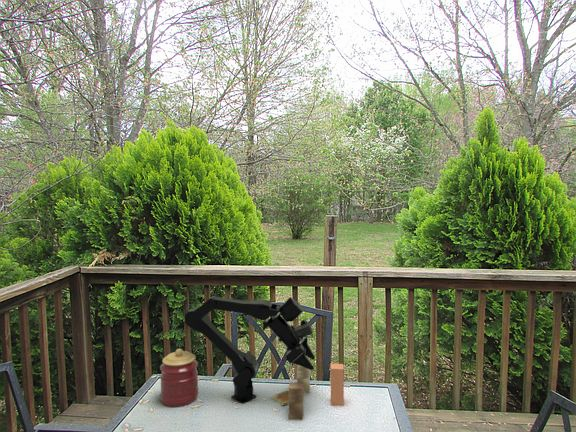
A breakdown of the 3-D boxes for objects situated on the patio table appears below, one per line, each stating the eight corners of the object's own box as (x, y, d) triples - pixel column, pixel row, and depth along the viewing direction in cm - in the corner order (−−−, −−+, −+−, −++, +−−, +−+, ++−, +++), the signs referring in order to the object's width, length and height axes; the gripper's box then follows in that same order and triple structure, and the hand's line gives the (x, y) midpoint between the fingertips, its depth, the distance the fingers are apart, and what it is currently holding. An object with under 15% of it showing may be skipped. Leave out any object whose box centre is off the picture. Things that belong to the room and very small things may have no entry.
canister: (192, 407, 132) (192, 356, 131) (154, 407, 132) (154, 355, 132) (202, 389, 145) (201, 342, 144) (167, 389, 145) (167, 342, 145)
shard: (296, 391, 144) (296, 386, 144) (309, 399, 138) (309, 394, 138) (271, 400, 138) (271, 395, 137) (284, 409, 131) (284, 403, 131)
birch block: (297, 392, 142) (297, 365, 142) (298, 387, 146) (298, 360, 146) (309, 393, 142) (309, 365, 141) (309, 387, 146) (309, 361, 146)
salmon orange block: (330, 405, 133) (330, 368, 133) (330, 398, 137) (330, 363, 137) (343, 405, 132) (343, 369, 132) (343, 399, 137) (343, 364, 136)
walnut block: (288, 419, 124) (288, 388, 124) (290, 412, 129) (290, 382, 128) (302, 420, 124) (302, 388, 123) (303, 412, 128) (303, 382, 128)
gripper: (297, 322, 126) (330, 358, 125) (301, 308, 145) (330, 339, 144) (272, 345, 127) (305, 381, 127) (280, 327, 146) (308, 359, 145)
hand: (313, 363), depth 135 cm, fingers open, 9 cm apart
